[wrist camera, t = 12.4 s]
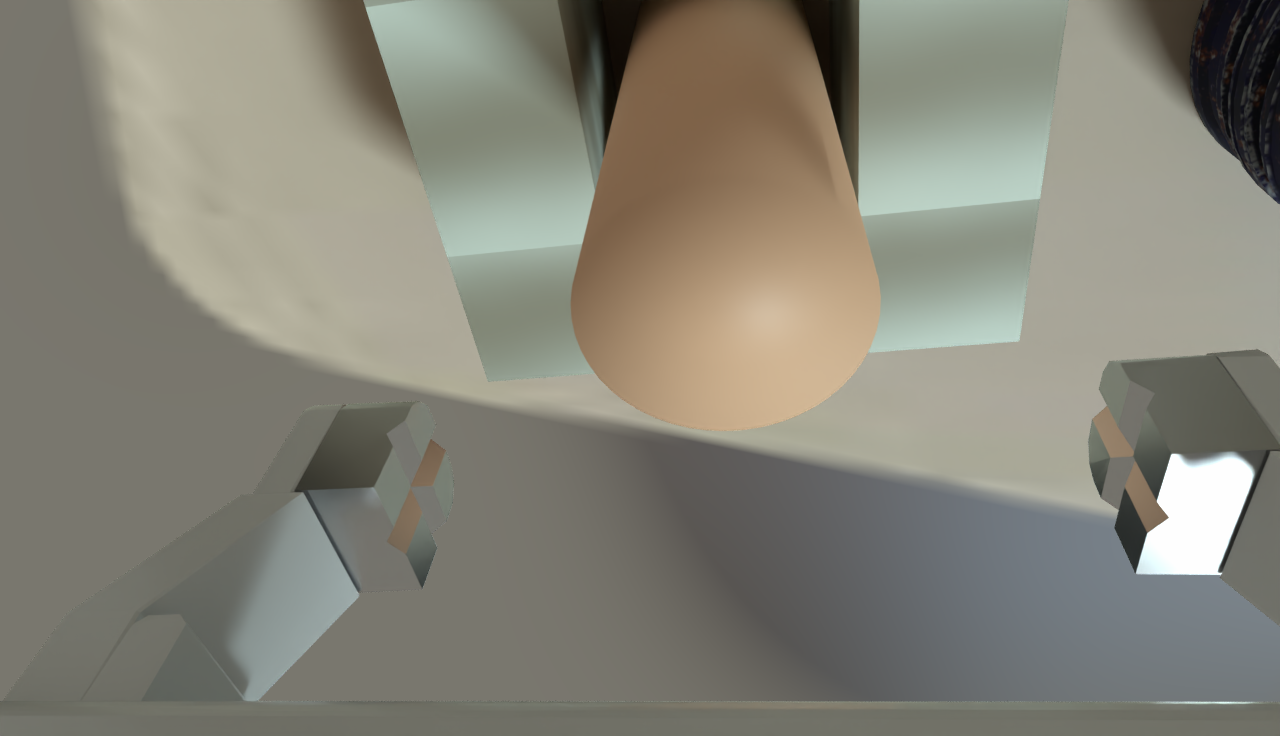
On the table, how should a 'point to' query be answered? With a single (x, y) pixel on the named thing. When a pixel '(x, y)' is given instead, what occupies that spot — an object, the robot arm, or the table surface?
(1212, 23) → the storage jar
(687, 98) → the peg
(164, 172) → the table surface
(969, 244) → the socket board
